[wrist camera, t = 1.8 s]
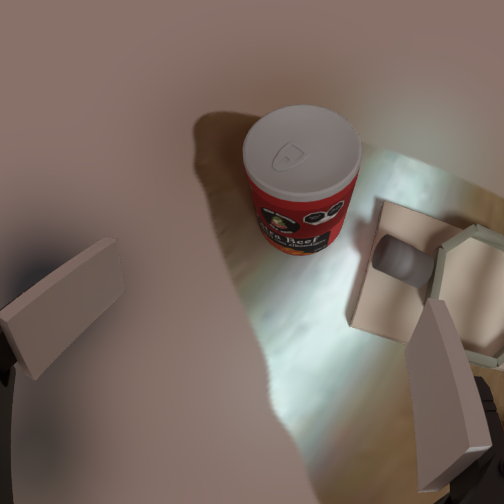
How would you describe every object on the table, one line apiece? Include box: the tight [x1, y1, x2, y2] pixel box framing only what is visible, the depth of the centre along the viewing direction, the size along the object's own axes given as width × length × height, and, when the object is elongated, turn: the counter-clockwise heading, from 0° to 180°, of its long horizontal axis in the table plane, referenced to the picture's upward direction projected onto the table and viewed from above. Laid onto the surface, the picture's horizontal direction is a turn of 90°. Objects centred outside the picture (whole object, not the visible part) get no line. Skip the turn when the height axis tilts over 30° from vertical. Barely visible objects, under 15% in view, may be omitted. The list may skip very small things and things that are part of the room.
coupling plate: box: [349, 201, 504, 371], centre depth 22 cm, size 24×13×5 cm, turn 68°
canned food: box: [243, 104, 362, 256], centre depth 24 cm, size 8×8×11 cm
